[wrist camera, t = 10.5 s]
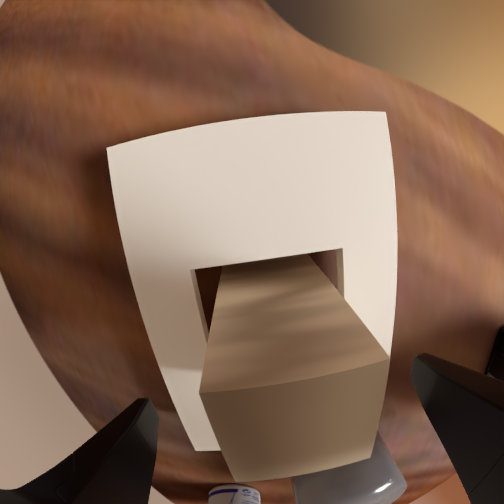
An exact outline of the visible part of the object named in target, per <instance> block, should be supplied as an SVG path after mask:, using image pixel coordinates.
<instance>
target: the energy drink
mask: <svg viewBox="0 0 504 504" xmlns="http://www.w3.org/2000/svg"><path fill="white" fill-rule="evenodd" d="M208 504H260V493H259V492H258V491H257V490H256V489H254V488H252V487H250V486H246V485H240V484H225V485H220V486H217V487H215V488H213V489H212V490H211V491H210V492H209V499H208Z"/></svg>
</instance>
